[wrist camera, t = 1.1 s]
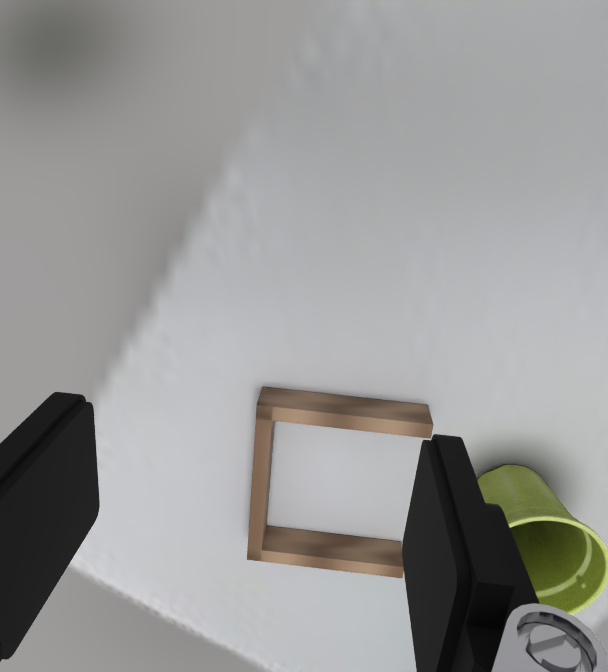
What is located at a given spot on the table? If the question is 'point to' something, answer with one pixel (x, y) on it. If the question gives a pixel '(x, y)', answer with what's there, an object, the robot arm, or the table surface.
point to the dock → (311, 544)
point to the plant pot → (548, 539)
